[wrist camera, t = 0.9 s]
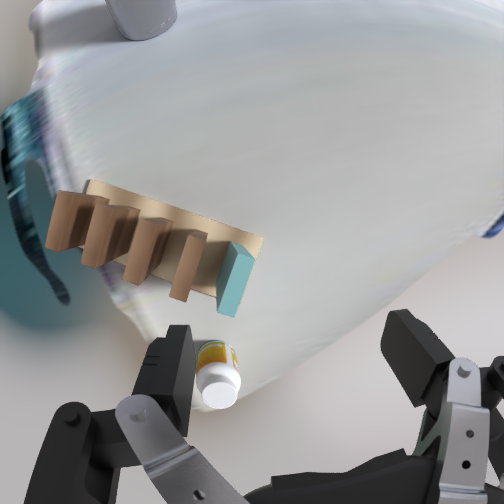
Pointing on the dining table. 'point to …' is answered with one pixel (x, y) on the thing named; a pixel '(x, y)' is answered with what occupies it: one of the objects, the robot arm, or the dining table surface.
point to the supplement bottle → (218, 374)
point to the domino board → (182, 236)
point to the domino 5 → (233, 278)
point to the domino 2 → (109, 233)
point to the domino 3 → (147, 248)
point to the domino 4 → (188, 265)
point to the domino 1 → (71, 219)
